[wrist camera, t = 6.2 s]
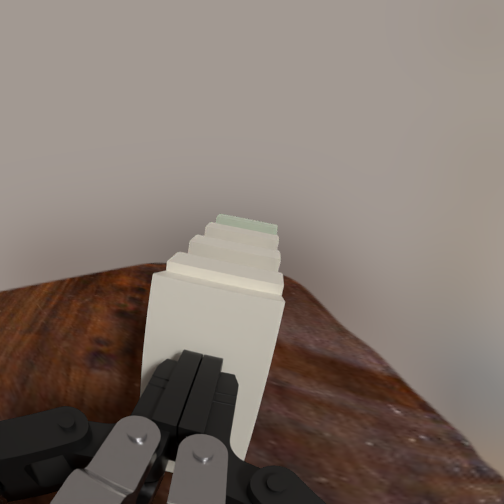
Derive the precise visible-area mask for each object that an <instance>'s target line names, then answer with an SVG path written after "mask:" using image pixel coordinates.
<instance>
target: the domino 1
mask: <svg viewBox="0 0 504 504" xmlns="http://www.w3.org/2000/svg"><path fill="white" fill-rule="evenodd" d="M284 305H285V301H284V299H283V298H282V296H281V295H278V294H273V293H268V292H263V291H258V290H253V289H248V288H243V287H238V286H233V285H228V284H224V283H219V282H214V281H210V280H205V279H200V278H196V277H191V276H187V275H182V274H178V273H174V272H169V271H163V272H159V273H155V274H153V277H152V284H151V290H150V297H149V305H148V312H147V320H146V329H145V338H144V348H143V360H142V373H141V389H140V397H141V395H142V393H143V392H144V390H145V388H146V386H147V385H148V382H149V380H150V379H151V377H152V375H153V373H154V371H155V369H156V368H157V366H158V365H159V364H160V363H162V362H163V361H165V360H166V359H171V360H175V361H178V360H179V358H180V356H181V354H182V352H183V350H184V349H185V350H189V351H193V352H197V353H201V354H203V356H204V354H206V355H210V356H214V357H219V358H223V365H222V371H221V372H225V373H229V374H234V375H235V377H236V379H237V382H238V384H239V387H238V394H237V400H236V406H235V412H234V418H233V424H232V430H231V436H230V445H231V448H232V450H233V452H234V453H235V454H236V456H237V457H239V458H240V459H241V460H243V461H244V459H245V456H246V452H247V449H248V445H249V442H250V439H251V435H252V432H253V428H254V425H255V421H256V417H257V414H258V410H259V406H260V403H261V399H262V395H263V391H264V388H265V384H266V380H267V376H268V372H269V368H270V364H271V360H272V356H273V352H274V348H275V344H276V339H277V335H278V331H279V327H280V322H281V318H282V314H283V309H284ZM174 466H175V462H174V461H171V460H169V461H168V464H167V467H166V470H165V471H169V472H172V473H173V471H174Z"/></svg>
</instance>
